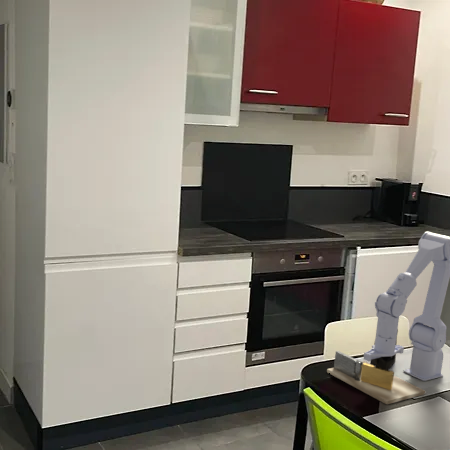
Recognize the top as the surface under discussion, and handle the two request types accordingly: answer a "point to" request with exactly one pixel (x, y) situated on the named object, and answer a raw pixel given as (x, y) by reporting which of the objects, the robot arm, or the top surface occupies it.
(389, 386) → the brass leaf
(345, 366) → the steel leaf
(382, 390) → the maple board
